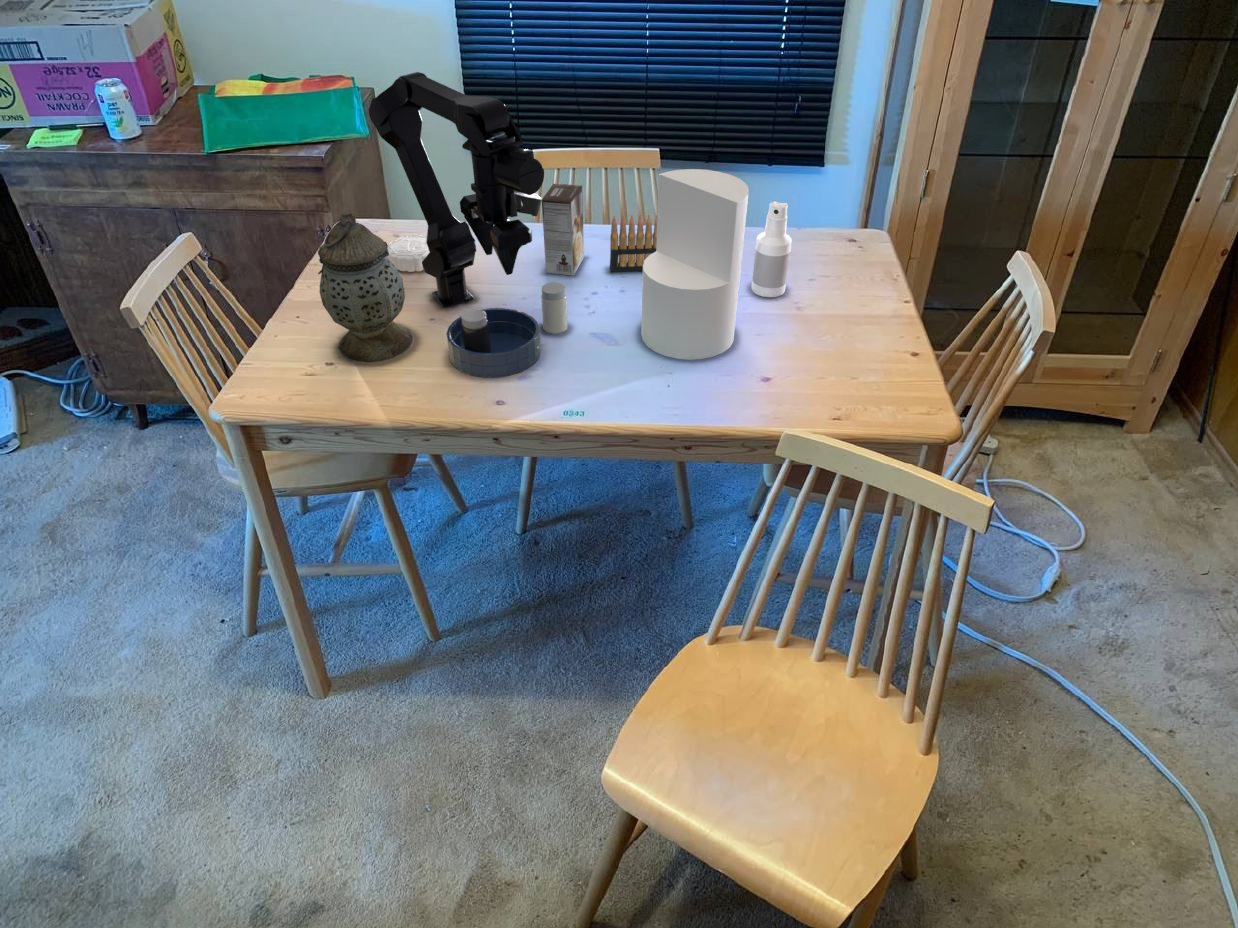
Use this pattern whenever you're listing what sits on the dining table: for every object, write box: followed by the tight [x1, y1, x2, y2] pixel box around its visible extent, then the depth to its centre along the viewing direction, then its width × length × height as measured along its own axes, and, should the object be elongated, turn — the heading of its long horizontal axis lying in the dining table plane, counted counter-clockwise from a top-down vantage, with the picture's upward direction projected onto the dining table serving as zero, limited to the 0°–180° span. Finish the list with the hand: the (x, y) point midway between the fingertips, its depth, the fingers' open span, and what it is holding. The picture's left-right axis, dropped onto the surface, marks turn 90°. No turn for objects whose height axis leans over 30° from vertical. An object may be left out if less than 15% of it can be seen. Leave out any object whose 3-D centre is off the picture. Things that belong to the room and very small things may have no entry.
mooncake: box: [386, 234, 430, 273], centre depth 181 cm, size 12×12×4 cm
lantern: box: [317, 211, 415, 363], centre depth 147 cm, size 14×14×25 cm
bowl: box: [446, 307, 542, 378], centre depth 151 cm, size 16×16×5 cm
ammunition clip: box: [609, 214, 657, 274], centre depth 175 cm, size 11×2×12 cm, turn 94°
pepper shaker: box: [460, 308, 491, 353], centre depth 149 cm, size 5×5×8 cm
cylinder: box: [640, 168, 750, 361], centre depth 149 cm, size 17×17×28 cm
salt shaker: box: [540, 282, 569, 334], centre depth 157 cm, size 5×5×8 cm
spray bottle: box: [750, 200, 793, 298], centre depth 166 cm, size 7×7×18 cm
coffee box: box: [541, 183, 585, 276], centre depth 176 cm, size 9×6×16 cm
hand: (499, 264), depth 154 cm, fingers open, 9 cm apart
